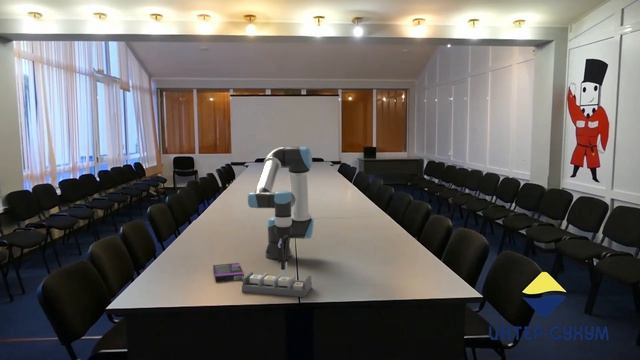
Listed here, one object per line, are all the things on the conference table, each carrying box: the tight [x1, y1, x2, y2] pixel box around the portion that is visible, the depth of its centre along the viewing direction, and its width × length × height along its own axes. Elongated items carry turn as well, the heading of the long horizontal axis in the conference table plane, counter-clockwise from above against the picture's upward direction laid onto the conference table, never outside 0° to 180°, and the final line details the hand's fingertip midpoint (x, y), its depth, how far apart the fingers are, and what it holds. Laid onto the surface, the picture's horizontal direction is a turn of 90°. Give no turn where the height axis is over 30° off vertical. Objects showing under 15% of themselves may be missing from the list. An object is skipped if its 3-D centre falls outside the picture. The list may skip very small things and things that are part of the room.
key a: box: [278, 276, 291, 286], centre depth 205 cm, size 4×4×3 cm
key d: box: [264, 275, 277, 285], centre depth 207 cm, size 4×4×3 cm
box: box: [212, 262, 245, 283], centre depth 228 cm, size 14×4×20 cm
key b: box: [249, 274, 263, 284], centre depth 208 cm, size 4×4×3 cm
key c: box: [293, 282, 303, 290], centre depth 203 cm, size 4×4×3 cm
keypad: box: [241, 270, 313, 298], centre depth 206 cm, size 12×30×6 cm, turn 76°
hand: (284, 275), depth 204 cm, fingers closed
